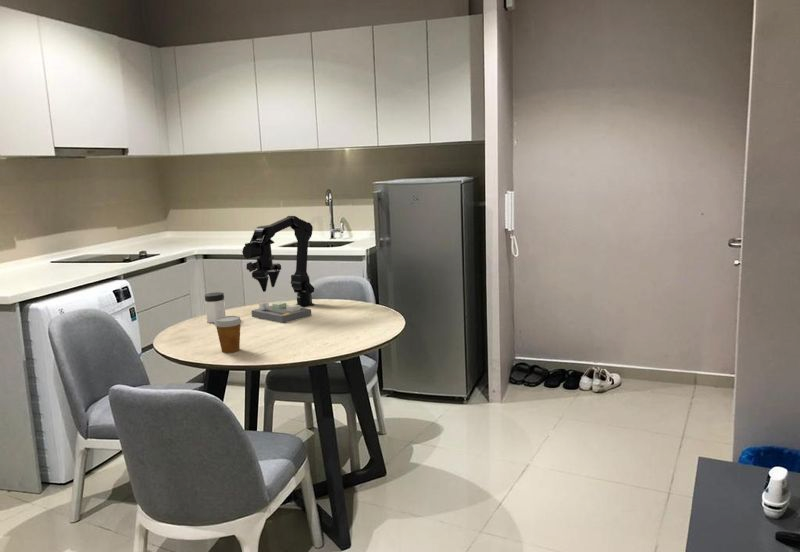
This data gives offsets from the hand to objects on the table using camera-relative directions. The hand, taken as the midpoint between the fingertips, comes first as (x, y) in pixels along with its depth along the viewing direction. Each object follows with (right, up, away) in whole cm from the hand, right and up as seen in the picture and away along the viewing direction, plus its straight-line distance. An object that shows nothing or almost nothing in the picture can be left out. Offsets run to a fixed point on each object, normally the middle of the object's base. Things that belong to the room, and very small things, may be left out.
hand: (268, 289), depth 294 cm
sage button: (+4, -9, +3) cm, 10 cm away
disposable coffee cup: (-3, -21, -53) cm, 58 cm away
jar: (-22, -14, -4) cm, 27 cm away
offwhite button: (+12, -10, -3) cm, 16 cm away
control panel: (+6, -12, -2) cm, 14 cm away
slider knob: (-2, -9, -2) cm, 9 cm away
